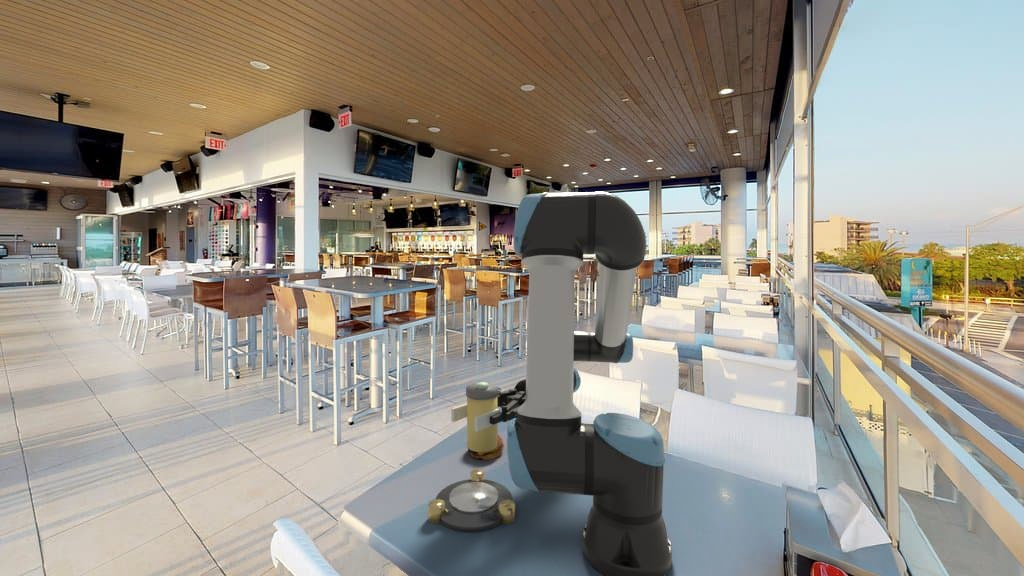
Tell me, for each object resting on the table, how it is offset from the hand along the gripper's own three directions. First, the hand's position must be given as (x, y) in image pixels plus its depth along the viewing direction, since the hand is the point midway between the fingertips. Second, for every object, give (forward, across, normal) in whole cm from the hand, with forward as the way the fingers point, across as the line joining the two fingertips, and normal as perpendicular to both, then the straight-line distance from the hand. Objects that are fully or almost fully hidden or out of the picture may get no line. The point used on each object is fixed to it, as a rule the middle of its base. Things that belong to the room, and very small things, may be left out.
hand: (464, 419), depth 84 cm
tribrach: (-2, -1, -19) cm, 19 cm away
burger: (-21, +15, -19) cm, 32 cm away
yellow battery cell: (-5, 0, -7) cm, 9 cm away
